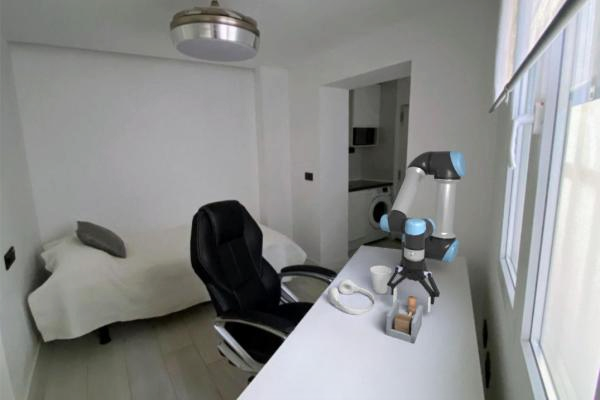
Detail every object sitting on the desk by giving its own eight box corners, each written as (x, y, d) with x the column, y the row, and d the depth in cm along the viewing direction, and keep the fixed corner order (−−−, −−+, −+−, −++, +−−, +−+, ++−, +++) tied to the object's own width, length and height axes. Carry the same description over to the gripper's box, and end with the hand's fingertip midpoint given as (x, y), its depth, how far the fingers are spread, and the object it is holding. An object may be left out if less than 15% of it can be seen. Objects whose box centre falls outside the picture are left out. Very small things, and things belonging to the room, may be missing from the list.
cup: (392, 297, 138) (392, 274, 136) (370, 295, 140) (370, 273, 138) (390, 286, 147) (390, 265, 145) (369, 285, 149) (369, 264, 147)
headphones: (322, 288, 133) (360, 310, 120) (345, 274, 146) (382, 293, 133) (320, 302, 135) (358, 325, 122) (344, 286, 148) (380, 306, 135)
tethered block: (406, 309, 127) (406, 294, 126) (418, 312, 125) (419, 297, 123) (394, 334, 112) (394, 317, 110) (408, 338, 109) (409, 321, 108)
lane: (395, 317, 122) (396, 299, 121) (421, 324, 117) (422, 305, 115) (386, 334, 111) (386, 315, 110) (414, 343, 106) (415, 323, 105)
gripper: (380, 255, 123) (379, 302, 127) (447, 267, 110) (443, 319, 114) (385, 249, 129) (384, 295, 133) (449, 260, 116) (446, 310, 120)
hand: (411, 306), depth 124 cm, fingers open, 13 cm apart
